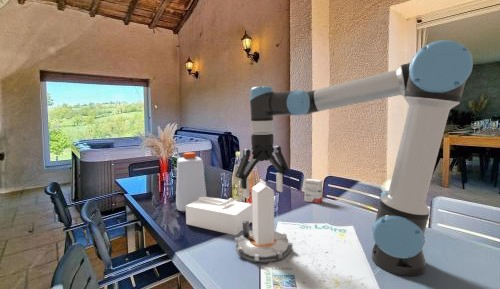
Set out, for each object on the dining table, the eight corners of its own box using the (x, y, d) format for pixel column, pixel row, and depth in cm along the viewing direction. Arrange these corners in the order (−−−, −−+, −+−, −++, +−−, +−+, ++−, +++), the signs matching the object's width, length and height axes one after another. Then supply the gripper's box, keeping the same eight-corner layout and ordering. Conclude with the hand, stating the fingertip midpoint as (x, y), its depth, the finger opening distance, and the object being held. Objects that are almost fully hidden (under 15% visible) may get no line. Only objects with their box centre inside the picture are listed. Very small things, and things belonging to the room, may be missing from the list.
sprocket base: (301, 253, 94) (301, 250, 94) (253, 269, 85) (253, 267, 85) (270, 232, 111) (270, 230, 111) (227, 244, 101) (227, 242, 101)
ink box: (322, 201, 148) (323, 179, 146) (319, 203, 144) (320, 181, 142) (307, 198, 152) (307, 177, 151) (304, 201, 148) (304, 179, 147)
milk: (258, 245, 94) (257, 183, 91) (252, 238, 100) (251, 179, 97) (274, 242, 96) (274, 181, 93) (267, 235, 101) (267, 177, 99)
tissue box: (235, 236, 108) (235, 209, 107) (186, 224, 120) (185, 200, 118) (252, 222, 121) (252, 198, 120) (206, 213, 133) (205, 191, 131)
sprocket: (300, 242, 100) (300, 224, 99) (271, 267, 84) (271, 246, 83) (256, 229, 111) (256, 213, 110) (224, 248, 96) (223, 230, 95)
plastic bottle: (203, 200, 152) (202, 150, 148) (208, 209, 137) (206, 154, 134) (175, 203, 147) (173, 151, 143) (177, 213, 133) (174, 156, 129)
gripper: (285, 130, 102) (285, 186, 105) (224, 135, 90) (226, 197, 92) (298, 131, 96) (298, 190, 98) (234, 136, 83) (236, 204, 86)
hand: (263, 194), depth 95 cm, fingers open, 13 cm apart
